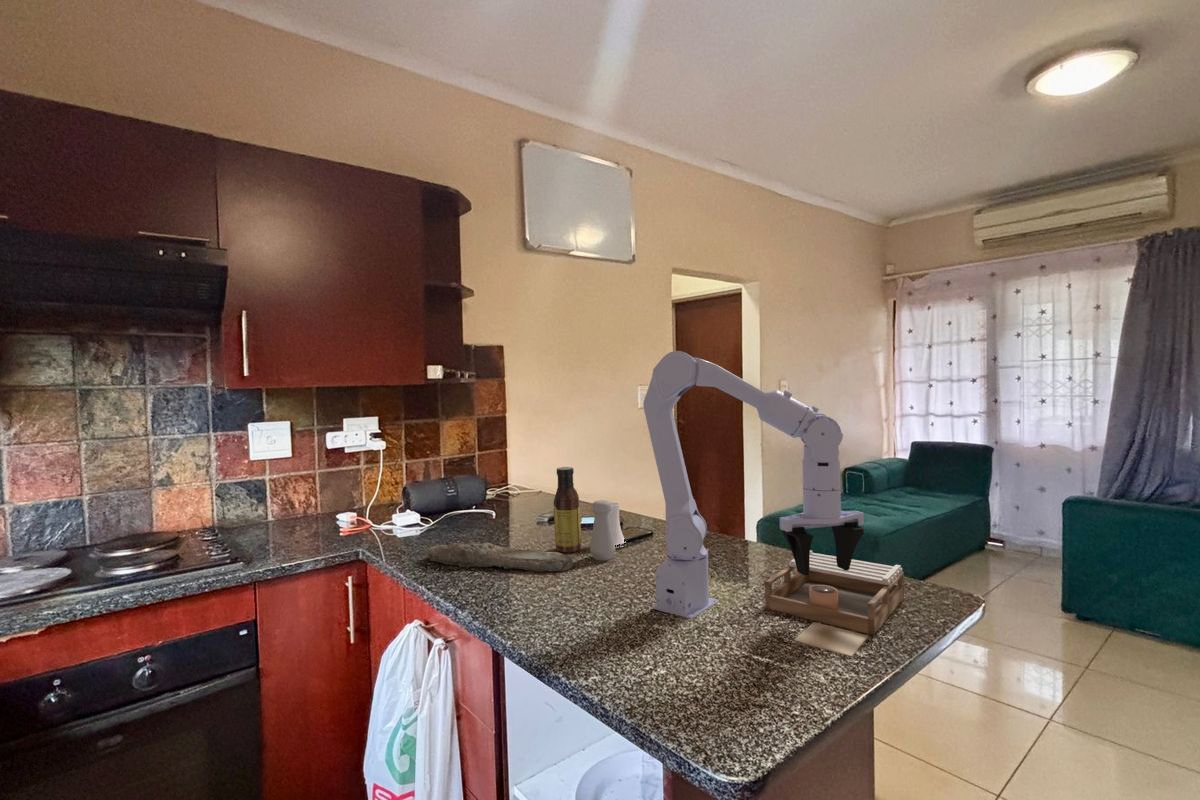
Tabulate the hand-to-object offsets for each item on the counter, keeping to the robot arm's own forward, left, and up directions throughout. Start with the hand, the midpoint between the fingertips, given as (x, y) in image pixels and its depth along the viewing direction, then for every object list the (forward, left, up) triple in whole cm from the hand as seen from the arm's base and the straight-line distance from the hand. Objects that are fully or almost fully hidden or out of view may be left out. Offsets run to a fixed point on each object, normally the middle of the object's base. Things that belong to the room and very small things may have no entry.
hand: (823, 571), depth 90 cm
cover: (+11, 0, -2) cm, 11 cm away
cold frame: (+6, 0, -7) cm, 10 cm away
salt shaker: (+2, +50, -8) cm, 51 cm away
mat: (-9, -4, -7) cm, 12 cm away
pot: (0, 0, -7) cm, 7 cm away
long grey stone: (-15, +66, -8) cm, 68 cm away
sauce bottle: (+2, +61, -8) cm, 62 cm away
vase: (+12, +56, -8) cm, 58 cm away
